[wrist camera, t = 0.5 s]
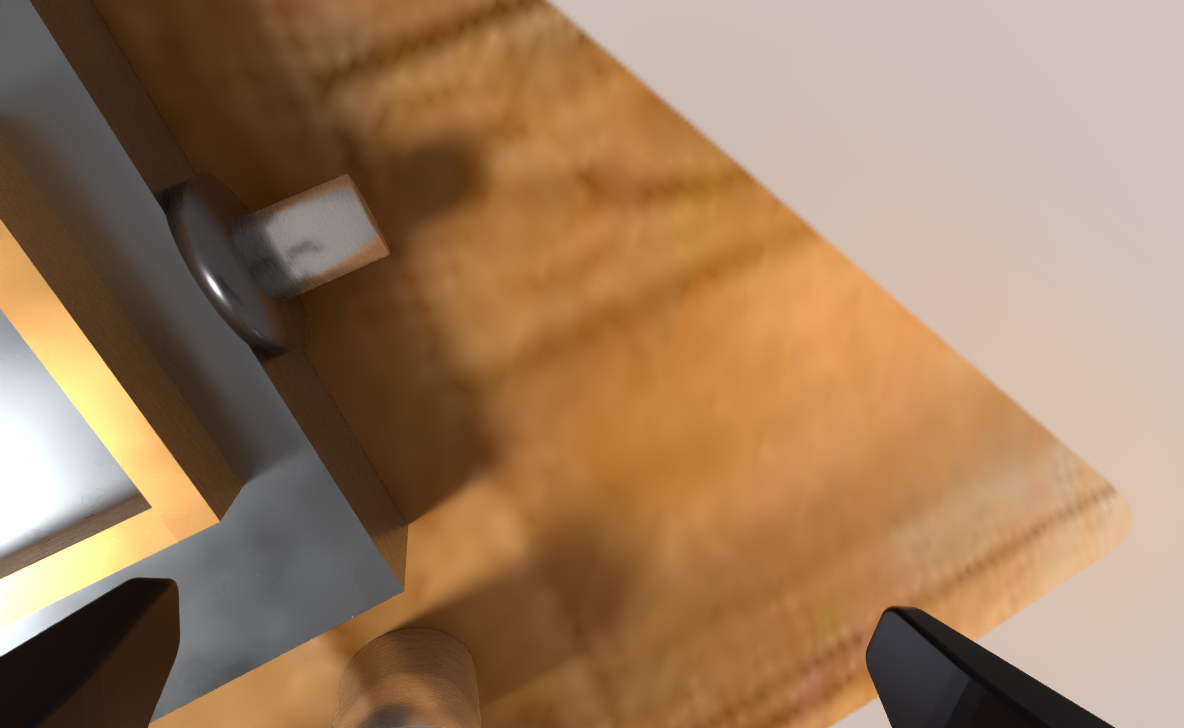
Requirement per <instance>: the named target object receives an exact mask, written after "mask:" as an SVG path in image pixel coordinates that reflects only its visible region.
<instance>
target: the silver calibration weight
mask: <svg viewBox="0 0 1184 728" xmlns="http://www.w3.org/2000/svg"><path fill="white" fill-rule="evenodd" d="M332 728H482V724H481V715H480V706H479V696H478V687H477V677H476V669H475V664H474V661H473V659H472V657H471V655H470V653H469V651H468V650H467V649H466V647H465V646H464V645H463V644H462V643H461V642H460V641H458V640H457V639H455V638H454V637H452V636H450V635H449V634H447V633H444V632H441V631H438V630H434V629H428V628H408V629H401V630H397V631H393V632H390V633H387V634H385V635H383V636H380V637H378V638H376V639H375V640H373V641H371V642H370V643H368V644H367V645H366V646H364V647H363V648H362V649H361V650H360V651H359V652H358V653H357V654H356V655H355V656H354V657H353V658H352V660H351V661H350V662H349V664H348V665H347V667H346V669H345V671H344V673H343V676H342V679H341V682H340V687H339V693H338V698H337V704H336V709H335V715H334V720H333V726H332Z"/></svg>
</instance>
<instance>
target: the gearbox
mask: <svg viewBox="0 0 1184 728" xmlns="http://www.w3.org/2000/svg"><path fill="white" fill-rule="evenodd" d="M388 255H390V252H389V249H388V246H387V244H386V241H385V239H384V237H383V235H382V232H381V230H380V228H379V226H378V224H377V222H376V220H375V218H374V216H373V214H372V212H371V211H370V209H369V207H368V205H367V203H366V201H365V199H364V198H363V196H362V194H361V192H360V191H359V189H358V187H357V186H356V184H355V183H354V181H353V180H352V178H351V177H350V175H349V174H348V173H346V174H344V175H341V176H339V177H337V178H334V179H332V180H329V181H327V182H325V183H322V184H320V185H318V186H315V187H313V188H310V189H308V190H306V191H303V192H301V193H298V194H296V195H294V196H291V197H289V198H287V199H284V200H282V201H279V202H277V203H275V204H272V205H270V206H268V207H265V208H263V209H260V210H258V211H256V212H253V213H250V212H249V211H248V209H247V208H246V207H245V206H244V204H243V203H242V202H241V201H240V200H239V199H238V198H237V197H236V195H235V194H234V193H233V192H232V191H231V190H230V189H229V188H228V187H226V186H225V185H224V184H223V183H222V182H220V181H219V180H218V179H216V178H215V177H213V176H211V175H209V174H200V175H196V174H195V172H194V171H193V169H192V167H191V166H190V164H189V162H188V161H187V159H186V157H185V156H184V154H183V152H182V151H181V149H180V147H179V146H178V144H177V142H176V141H175V139H174V137H173V136H172V134H171V132H170V131H169V129H168V127H167V126H166V124H165V123H164V121H163V119H162V118H161V116H160V114H159V113H158V111H157V109H156V108H155V106H154V104H153V103H152V101H151V99H150V98H149V96H148V94H147V93H146V91H145V89H144V88H143V86H142V84H141V83H140V81H139V79H138V78H137V76H136V75H135V73H134V71H133V70H132V68H131V66H130V65H129V63H128V61H127V60H126V58H125V56H124V55H123V53H122V51H121V50H120V48H119V46H118V45H117V43H116V41H115V40H114V38H113V36H112V35H111V33H110V32H109V30H108V28H107V27H106V25H105V23H104V22H103V20H102V18H101V17H100V15H99V13H98V12H97V10H96V8H95V7H94V5H93V3H92V2H91V0H0V656H2V655H3V654H5V653H7V652H8V651H10V650H12V649H13V648H15V647H17V646H18V645H20V644H22V643H23V642H25V641H27V640H28V639H30V638H32V637H33V636H35V635H37V634H38V633H40V632H42V631H43V630H45V629H47V628H48V627H50V626H52V625H53V624H55V623H57V622H58V621H60V620H62V619H63V618H65V617H67V616H68V615H70V614H72V613H73V612H75V611H77V610H78V609H80V608H81V607H83V606H85V605H86V604H88V603H90V602H91V601H93V600H95V599H96V598H98V597H100V596H101V595H103V594H105V593H106V592H108V591H110V590H111V589H113V588H115V587H116V586H118V585H120V584H121V583H123V582H125V581H127V580H129V579H131V578H135V577H153V578H170V579H173V580H174V581H175V582H176V583H177V585H178V589H179V611H180V645H179V649H178V653H177V656H176V659H175V662H174V665H173V667H172V669H171V672H170V674H169V677H168V679H167V682H166V684H165V687H164V689H163V692H162V694H161V696H160V699H159V701H158V704H157V706H156V709H155V711H154V714H153V716H152V718H151V721H150V723H151V722H153V721H155V720H157V719H159V718H161V717H162V716H164V715H166V714H168V713H170V712H172V711H174V710H176V709H178V708H180V707H182V706H184V705H186V704H187V703H189V702H191V701H193V700H195V699H197V698H199V697H201V696H203V695H205V694H207V693H209V692H211V691H213V690H214V689H216V688H218V687H220V686H222V685H224V684H226V683H228V682H230V681H232V680H234V679H236V678H238V677H239V676H241V675H243V674H245V673H247V672H249V671H251V670H253V669H255V668H257V667H259V666H261V665H263V664H264V663H266V662H268V661H270V660H272V659H274V658H276V657H278V656H280V655H282V654H284V653H286V652H288V651H290V650H291V649H293V648H295V647H297V646H299V645H301V644H303V643H305V642H307V641H309V640H311V639H313V638H315V637H316V636H318V635H320V634H322V633H324V632H326V631H328V630H330V629H332V628H334V627H336V626H338V625H340V624H342V623H343V622H345V621H347V620H349V619H351V618H353V617H355V616H357V615H359V614H361V613H363V612H365V611H367V610H368V609H370V608H372V607H374V606H376V605H378V604H380V603H382V602H384V601H386V600H388V599H390V598H392V597H393V596H395V595H397V594H399V593H401V592H403V591H404V585H405V568H406V551H407V535H408V525H407V523H406V521H405V520H404V518H403V516H402V515H401V513H400V511H399V510H398V508H397V506H396V505H395V503H394V501H393V500H392V498H391V497H390V495H389V493H388V492H387V490H386V488H385V487H384V485H383V483H382V482H381V480H380V478H379V477H378V475H377V473H376V472H375V470H374V468H373V467H372V465H371V463H370V462H369V460H368V458H367V457H366V455H365V454H364V452H363V450H362V449H361V447H360V445H359V444H358V442H357V440H356V439H355V437H354V435H353V434H352V432H351V430H350V429H349V427H348V425H347V424H346V422H345V420H344V419H343V417H342V415H341V414H340V412H339V410H338V409H337V407H336V406H335V404H334V402H333V401H332V399H331V397H330V396H329V394H328V392H327V391H326V389H325V387H324V386H323V384H322V382H321V381H320V379H319V377H318V376H317V374H316V372H315V371H314V369H313V367H312V366H311V364H310V362H309V361H308V359H307V358H306V356H305V354H304V353H303V351H302V349H301V348H300V347H301V346H303V345H305V344H307V343H308V341H309V337H310V330H309V323H308V319H307V315H306V312H305V309H304V306H303V303H302V301H301V298H300V296H299V295H300V294H302V293H304V292H307V291H309V290H311V289H313V288H316V287H318V286H320V285H322V284H325V283H327V282H329V281H331V280H334V279H336V278H338V277H340V276H343V275H345V274H347V273H349V272H352V271H354V270H356V269H358V268H361V267H363V266H365V265H368V264H370V263H372V262H374V261H377V260H379V259H381V258H383V257H386V256H388Z"/></svg>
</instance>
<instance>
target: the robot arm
mask: <svg viewBox="0 0 1184 728" xmlns="http://www.w3.org/2000/svg"><path fill="white" fill-rule="evenodd" d="M179 645H180V611H179V589H178V585H177V583H176V582H175V581H174V580H173V579H170V578H153V577H135V578H131V579H129V580H127V581H125V582H123V583H121V584H120V585H118V586H116V587H115V588H113V589H111V590H110V591H108V592H106V593H105V594H103V595H101V596H100V597H98V598H96V599H95V600H93V601H91V602H90V603H88V604H86V605H85V606H83V607H81V608H80V609H78V610H77V611H75V612H73V613H72V614H70V615H68V616H67V617H65V618H63V619H62V620H60V621H58V622H57V623H55V624H53V625H52V626H50V627H48V628H47V629H45V630H43V631H42V632H40V633H38V634H37V635H35V636H33V637H32V638H30V639H28V640H27V641H25V642H23V643H22V644H20V645H18V646H17V647H15V648H13V649H12V650H10V651H8V652H7V653H5V654H3V655H2V656H0V728H148V726H149V723H150V721H151V718H152V716H153V714H154V711H155V709H156V706H157V704H158V701H159V699H160V696H161V694H162V692H163V689H164V687H165V684H166V682H167V679H168V677H169V674H170V672H171V669H172V667H173V665H174V662H175V659H176V656H177V653H178V649H179ZM866 664H867V668H868V671H869V673H870V676H871V678H872V680H873V683H874V685H875V688H876V690H877V693H878V695H879V697H880V700H881V702H882V704H883V707H884V709H885V712H886V714H887V717H888V719H889V721H890V724H891V726H892V728H1115V727H1113V726H1112V725H1110V724H1108V723H1107V722H1105V721H1103V720H1102V719H1100V718H1098V717H1097V716H1095V715H1093V714H1092V713H1090V712H1089V711H1087V710H1085V709H1084V708H1081V707H1080V706H1078V705H1077V704H1075V703H1074V702H1072V701H1070V700H1069V699H1067V698H1065V697H1064V696H1062V695H1061V694H1059V693H1057V692H1056V691H1054V690H1052V689H1051V688H1049V687H1047V686H1045V685H1044V684H1042V683H1041V682H1039V681H1038V680H1036V679H1034V678H1033V677H1031V676H1029V675H1028V674H1026V673H1024V672H1023V671H1021V670H1019V669H1018V668H1016V667H1015V666H1013V665H1011V664H1010V663H1008V662H1006V661H1004V660H1003V659H1001V658H1000V657H998V656H996V655H995V654H993V653H992V652H990V651H988V650H987V649H985V648H983V647H982V646H980V645H978V644H977V643H975V642H973V641H972V640H970V639H968V638H967V637H965V636H964V635H962V634H960V633H959V632H957V631H955V630H954V629H952V628H950V627H949V626H947V625H945V624H944V623H942V622H941V621H939V620H937V619H936V618H934V617H932V616H931V615H929V614H927V613H926V612H924V611H922V610H921V609H918V608H915V607H905V606H891V607H888V608H887V609H886V610H885V611H884V612H883V613H882V615H881V618H880V620H879V622H878V624H877V627H876V629H875V631H874V633H873V636H872V638H871V640H870V642H869V645H868V647H867V650H866Z"/></svg>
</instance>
